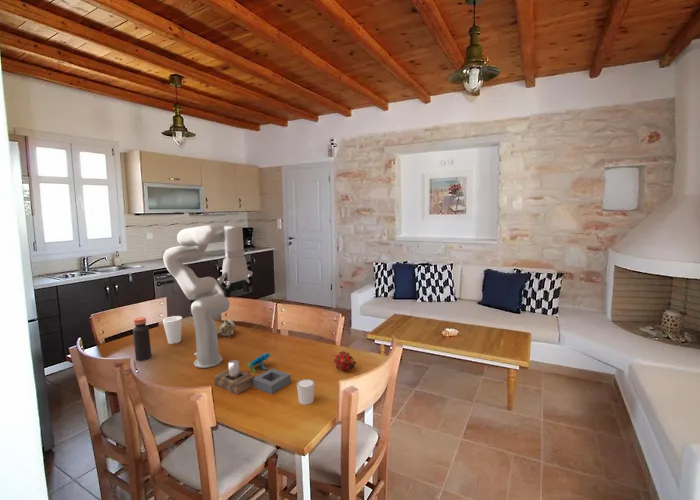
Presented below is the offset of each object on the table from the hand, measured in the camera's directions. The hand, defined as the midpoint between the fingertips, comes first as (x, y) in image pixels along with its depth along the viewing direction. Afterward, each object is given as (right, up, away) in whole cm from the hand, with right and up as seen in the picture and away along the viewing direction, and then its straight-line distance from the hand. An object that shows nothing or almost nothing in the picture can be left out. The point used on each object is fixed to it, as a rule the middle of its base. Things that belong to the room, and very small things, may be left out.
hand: (237, 294), depth 154 cm
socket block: (+15, -37, -3) cm, 40 cm away
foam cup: (-48, -32, +45) cm, 73 cm away
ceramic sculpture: (-23, -30, +54) cm, 66 cm away
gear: (+6, -36, +12) cm, 38 cm away
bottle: (-54, -35, +25) cm, 68 cm away
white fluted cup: (+31, -39, -15) cm, 52 cm away
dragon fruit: (+46, -35, +10) cm, 59 cm away
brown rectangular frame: (0, -37, -3) cm, 37 cm away
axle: (0, -37, -3) cm, 37 cm away
